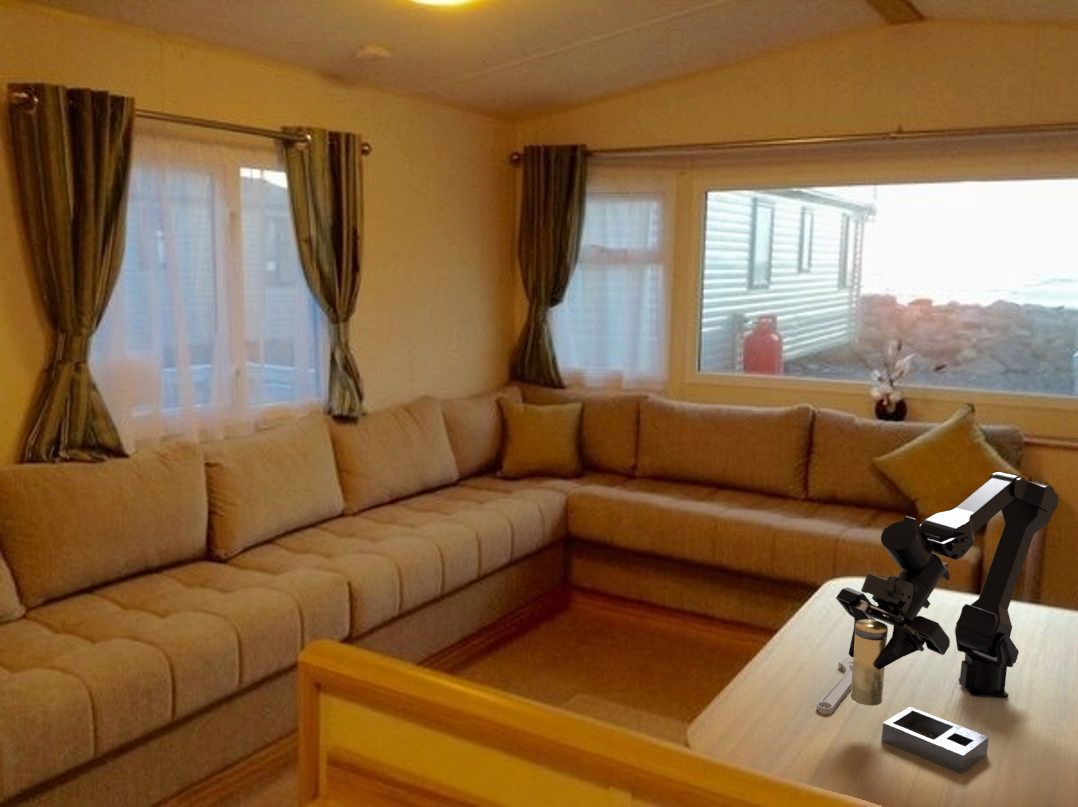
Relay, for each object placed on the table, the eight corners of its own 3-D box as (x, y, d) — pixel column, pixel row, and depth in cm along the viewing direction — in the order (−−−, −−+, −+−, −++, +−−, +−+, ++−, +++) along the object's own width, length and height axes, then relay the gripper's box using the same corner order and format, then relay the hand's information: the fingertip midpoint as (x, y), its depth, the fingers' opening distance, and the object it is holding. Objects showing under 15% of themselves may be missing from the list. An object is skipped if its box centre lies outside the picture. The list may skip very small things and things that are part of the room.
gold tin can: (875, 691, 152) (881, 619, 150) (886, 705, 147) (892, 631, 145) (846, 691, 152) (851, 619, 150) (856, 705, 147) (861, 631, 145)
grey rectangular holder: (986, 755, 144) (988, 737, 143) (961, 774, 138) (963, 755, 138) (908, 723, 153) (910, 706, 153) (881, 740, 148) (883, 722, 147)
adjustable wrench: (829, 719, 155) (830, 709, 155) (793, 707, 159) (794, 697, 159) (882, 670, 175) (882, 661, 174) (848, 661, 179) (849, 652, 178)
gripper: (847, 540, 156) (796, 614, 152) (944, 573, 140) (890, 657, 136) (875, 578, 161) (827, 650, 157) (972, 613, 145) (921, 695, 141)
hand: (863, 661), depth 148 cm, fingers closed on gold tin can, 5 cm apart
